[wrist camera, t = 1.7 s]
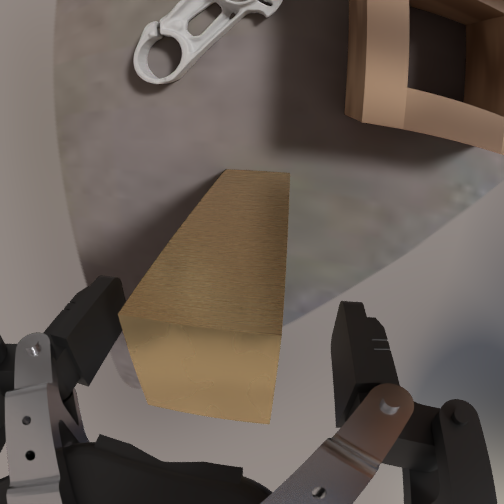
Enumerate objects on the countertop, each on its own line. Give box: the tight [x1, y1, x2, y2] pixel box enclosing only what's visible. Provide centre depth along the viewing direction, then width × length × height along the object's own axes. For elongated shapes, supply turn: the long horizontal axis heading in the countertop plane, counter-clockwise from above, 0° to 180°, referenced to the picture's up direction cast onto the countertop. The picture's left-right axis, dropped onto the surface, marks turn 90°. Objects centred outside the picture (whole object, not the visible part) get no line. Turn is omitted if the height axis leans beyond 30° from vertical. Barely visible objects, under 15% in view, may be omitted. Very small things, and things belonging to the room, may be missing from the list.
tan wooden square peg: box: [118, 169, 290, 424], centre depth 14 cm, size 4×4×14 cm
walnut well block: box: [344, 0, 504, 155], centre depth 12 cm, size 10×10×5 cm
